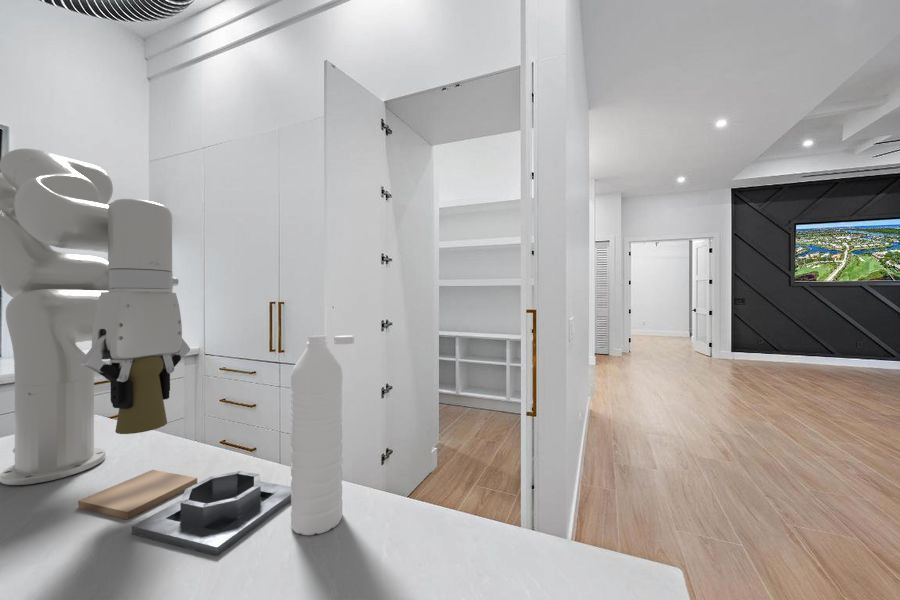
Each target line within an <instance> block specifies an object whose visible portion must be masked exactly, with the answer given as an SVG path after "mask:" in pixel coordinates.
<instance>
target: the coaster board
mask: <svg viewBox="0 0 900 600" xmlns="http://www.w3.org/2000/svg"><path fill="white" fill-rule="evenodd" d="M197 483H198V477H194V476H189V475H182V474H179V473H178V474H177V473H172V472H167V471H162V470H157V469H151V470H148V471H146V472H144V473H141V474H139V475H137V476H134V477H131V478H129V479H127V480H124V481H123V482H119V483H117V484H115V485H113V486H111V487H108V488H106V489H103V490H100V491H97V492H96V493H93V494H90V495H88V496H86V497H84V498H81V499H79V500H77V502H78V503H77V506H78V507H77V508H79V509H83V510H86V511H91V512H95V513H99V514H103V515H106V516H107V515H108V516H111V517H114V518H119V519H124V520H129V519H132V518H133V517H135V516H137V515H139V514H141V513H143V512H145V511H147V510H149V509H151V508H153V507H155V506H156V505H159V504H161V503H163V502H164V501H167V500H169V499H171V498H173V497H174V496H176V495H179V494H181V493H182V492H183V493H184V491H185V489H187V488H189V487H191V486H193V485H195V484H197Z"/></svg>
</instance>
